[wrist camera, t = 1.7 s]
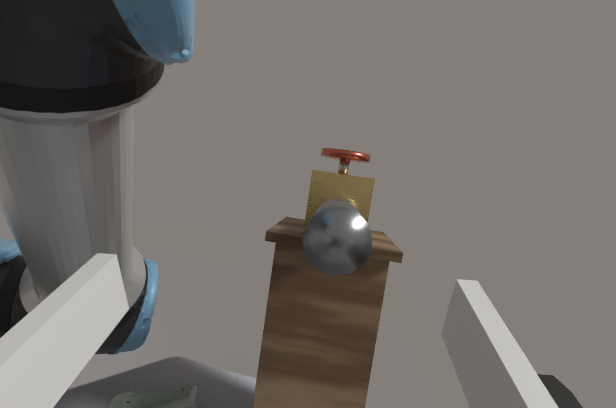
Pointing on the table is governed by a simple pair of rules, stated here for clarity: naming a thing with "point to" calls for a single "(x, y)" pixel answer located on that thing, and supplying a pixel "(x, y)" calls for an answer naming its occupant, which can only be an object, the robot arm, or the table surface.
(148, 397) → the metal bracket
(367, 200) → the valve pipe
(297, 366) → the stand
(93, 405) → the table surface
